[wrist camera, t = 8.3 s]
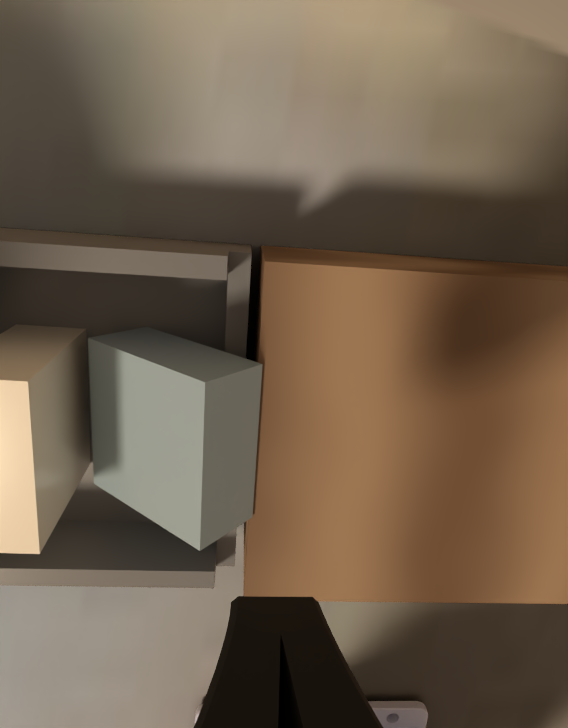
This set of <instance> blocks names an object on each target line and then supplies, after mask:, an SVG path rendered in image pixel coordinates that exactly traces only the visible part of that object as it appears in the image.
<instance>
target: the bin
mask: <svg viewBox="0 0 568 728" xmlns="http://www.w3.org/2000/svg"><path fill="white" fill-rule="evenodd" d="M251 256H252V251H251V245H247V244H232V243H218V242H203V241H188V240H174V239H159V238H145V237H130V236H116V235H101V234H87V233H72V232H57V231H43V230H28V229H14V228H0V334H1V333H3V332H5V331H6V330H8V329H9V328H11V327H13V326H14V325H16V324H19V325H35V326H50V327H66V328H82V329H86V338H87V370H88V402H89V434H90V465H89V467H88V468H87V470H86V472H85V474H84V476H83V477H82V479H81V481H80V483H79V485H78V486H77V488H76V490H75V492H74V494H73V495H72V497H71V499H70V501H69V502H68V504H67V506H66V508H65V510H64V511H63V513H62V515H61V517H60V519H59V520H58V522H57V524H56V526H55V528H54V529H53V531H52V533H51V535H50V537H49V538H48V540H47V542H46V544H45V546H44V547H43V549H42V551H41V553H40V554H18V553H0V585H19V586H98V587H176V588H214V582H215V570H216V566H235V548H236V530H237V527H236V528H235V529H233V530H232V531H230V532H229V533H227V534H226V535H224V536H222V537H221V538H219V539H218V540H216V541H215V542H213V543H212V544H210V545H208V546H207V547H205V548H204V549H202V550H201V551H199V550H197V549H196V548H194V547H193V546H191V545H190V544H188V543H186V542H185V541H183V540H182V539H180V538H179V537H177V536H175V535H174V534H172V533H171V532H169V531H168V530H166V529H164V528H163V527H161V526H160V525H158V524H157V523H155V522H153V521H152V520H150V519H149V518H147V517H146V516H144V515H142V514H141V513H139V512H138V511H136V510H135V509H133V508H131V507H130V506H128V505H127V504H125V503H124V502H122V501H120V500H119V499H117V498H116V497H114V496H113V495H111V494H109V493H108V492H106V491H105V490H103V489H102V488H100V487H98V486H97V485H95V484H94V474H93V450H92V425H91V400H90V376H89V351H88V338H90V337H95V336H101V335H106V334H111V333H117V332H122V331H127V330H133V329H138V328H143V327H150V328H153V329H156V330H159V331H162V332H165V333H168V334H171V335H174V336H178V337H181V338H184V339H187V340H190V341H193V342H196V343H199V344H202V345H205V346H208V347H211V348H214V349H218V350H221V351H224V352H227V353H230V354H233V355H236V356H239V357H242V358H245V359H246V347H247V329H248V310H249V292H250V274H251Z"/></svg>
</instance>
